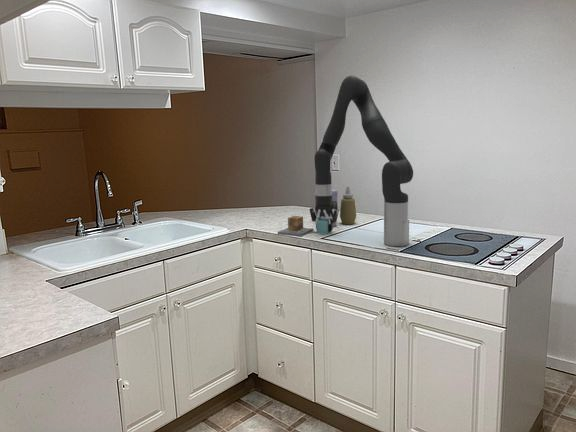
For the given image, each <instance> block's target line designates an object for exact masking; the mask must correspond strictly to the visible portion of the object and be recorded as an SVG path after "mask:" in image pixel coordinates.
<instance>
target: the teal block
mask: <svg viewBox="0 0 576 432" xmlns="http://www.w3.org/2000/svg"><path fill="white" fill-rule="evenodd" d="M331 233H333V230H332V231H331V232H328V221H327V219H326V218H321V219H319V220H317V230H316V234H319V235H321V234H322V235H328V234H331Z"/></svg>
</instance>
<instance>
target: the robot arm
mask: <svg viewBox="0 0 576 432" xmlns="http://www.w3.org/2000/svg"><path fill="white" fill-rule="evenodd" d="M351 101H352V102H353V103H354V104H355V107H356V108H357V110H358V111H359V113H360V117H361V126H362V130H363V132H364V133H365V136H366V138H367V139H368V141H369V143H370V144H372V145H373V146H374V148H375V149H377V150H378V151H379V152H381V153H382V154H383V155H384V156H385V157H386V158H387V160H388V162H385V163H384V165H383V166H382V170H381V187H382V188H381V190H382V195H383V200H384V201H383V202H384V203H383V211H384V212H383V244H384V245H386V246H391V247H406V246H407V245H408V244H409V243H410V219H409V217H408V216H409V195H408V194H407V193H406V192H403V191H402V189H401V185H403V184H408V183H410V182H411V181H412V180H413V178H414V169H413V167H412V165H411V162H410V161H409V159H408V158H407V157H406V155H405V154H404V152H403V151H402V149H401V148H400V146H399V144H398V142H397V141H396V140H395V137H394V135H393V134H392V133H391V131H390V128H389V126H388V124H387V122H386V120H385V118H384V117H383V115H382V113H381V112H380V110H379V108H378V107H377V105H376V103H375V101H374V99H373V96H372V94H371V90H370V89H369V86H368V84H367V83H366V82H365V81H364V80H362V79H361V78H359V77H357V76H355V75H347V76H346V77H345V78H344V79H342V82H341V85H340V86H339V90H338V93H337V98H336V101H335V104H334V109H333V113H332V115H331V118H330V121H329V124H328V125H327V128H326V130H325V132H324V135H323V137H322V141H321V143H320V146H319V148H318V150H317V151H316V152H315V154H314V169H315V186H314V187H315V188H314V190H315V191H314V193H315V195H314V196H315V197H314V201H315V202H314V205H315V204H316V207H315V206H314V207H310V208H309V214H310V218H311V221H312V222H315V229H316V231H317V220H319V219H321V218H322V216H324V217H326V219H327V221H328V232H331V231H332V232H333V228H334V227H333V223H335V222H336V221H337V220H338V217H339V214H340V210H339V208H338V209H337V210H335V209H333V207H332V189H333V185H332V184H333V183H332V172H331V160H332V158H333V155H334V153H335V151H336V147H337V146H338V144H339V142H340V140H341V138H342V135H343V134H344V130H345V127H346V120H347V119H346V117H347V112H348V107H349V105H350V103H351ZM315 210H316V212H317V216H316V214H315ZM331 212H333V219H332V216H331ZM332 232H331V233H332Z"/></svg>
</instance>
